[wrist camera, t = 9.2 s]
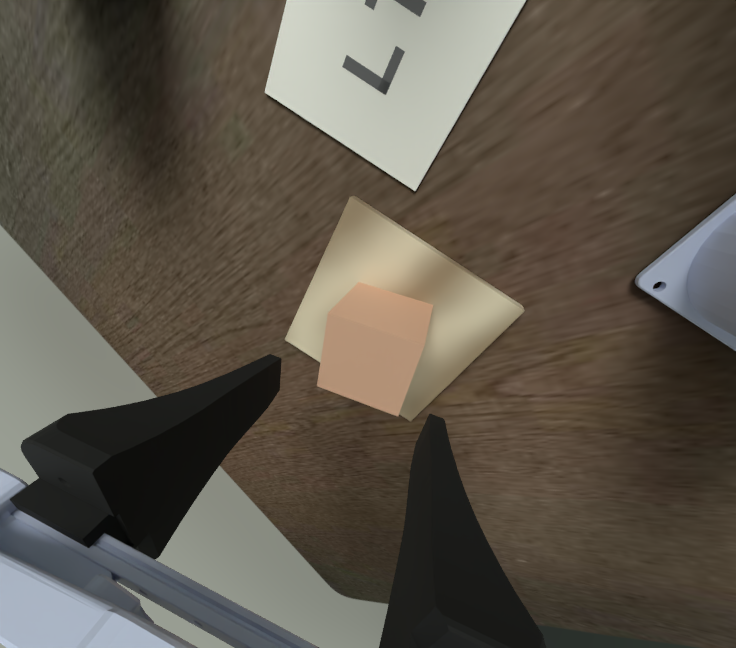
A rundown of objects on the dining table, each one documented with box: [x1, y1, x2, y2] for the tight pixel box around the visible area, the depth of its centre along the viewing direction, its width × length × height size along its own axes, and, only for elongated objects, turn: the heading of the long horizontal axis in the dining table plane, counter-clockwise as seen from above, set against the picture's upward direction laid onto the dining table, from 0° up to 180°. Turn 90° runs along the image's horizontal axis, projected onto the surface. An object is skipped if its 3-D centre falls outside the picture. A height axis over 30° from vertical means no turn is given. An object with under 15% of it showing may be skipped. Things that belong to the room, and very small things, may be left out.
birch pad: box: [285, 196, 525, 421], centre depth 19 cm, size 12×12×1 cm
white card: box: [265, 0, 526, 191], centre depth 13 cm, size 10×10×1 cm
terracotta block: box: [317, 282, 433, 416], centre depth 17 cm, size 5×5×5 cm
